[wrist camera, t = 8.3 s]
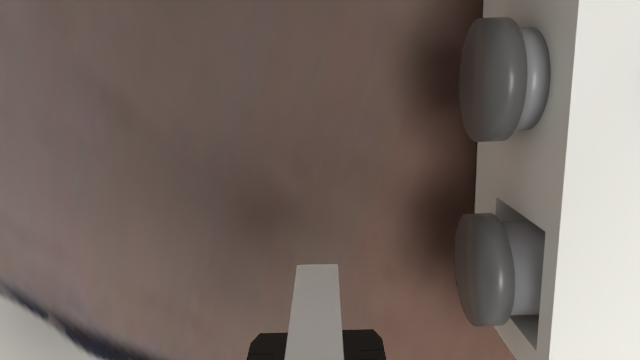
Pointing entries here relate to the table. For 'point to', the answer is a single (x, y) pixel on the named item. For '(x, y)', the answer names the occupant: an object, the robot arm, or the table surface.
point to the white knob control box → (563, 163)
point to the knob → (498, 268)
